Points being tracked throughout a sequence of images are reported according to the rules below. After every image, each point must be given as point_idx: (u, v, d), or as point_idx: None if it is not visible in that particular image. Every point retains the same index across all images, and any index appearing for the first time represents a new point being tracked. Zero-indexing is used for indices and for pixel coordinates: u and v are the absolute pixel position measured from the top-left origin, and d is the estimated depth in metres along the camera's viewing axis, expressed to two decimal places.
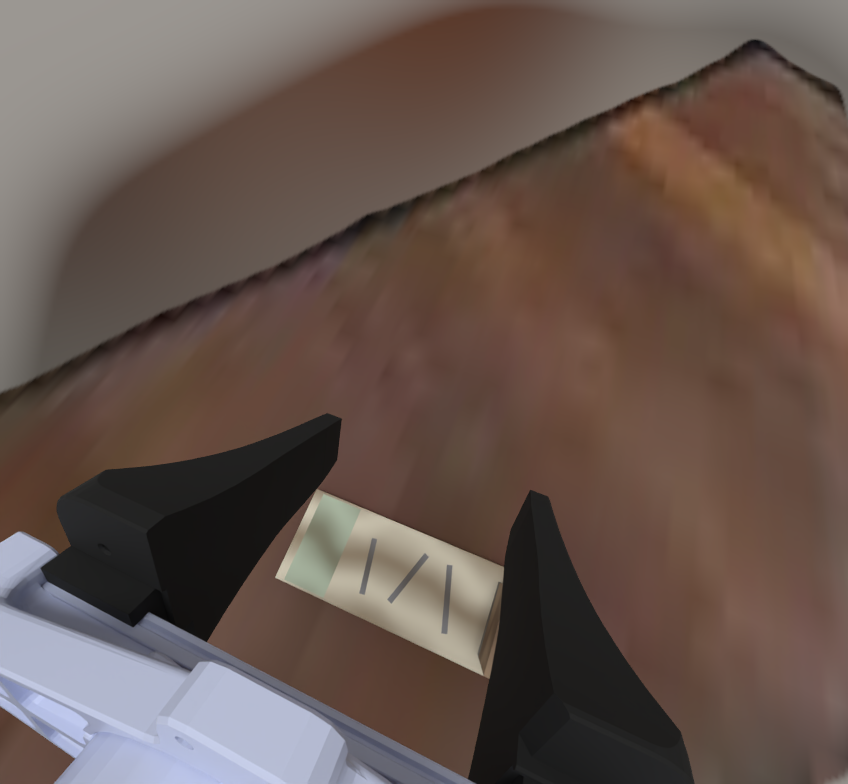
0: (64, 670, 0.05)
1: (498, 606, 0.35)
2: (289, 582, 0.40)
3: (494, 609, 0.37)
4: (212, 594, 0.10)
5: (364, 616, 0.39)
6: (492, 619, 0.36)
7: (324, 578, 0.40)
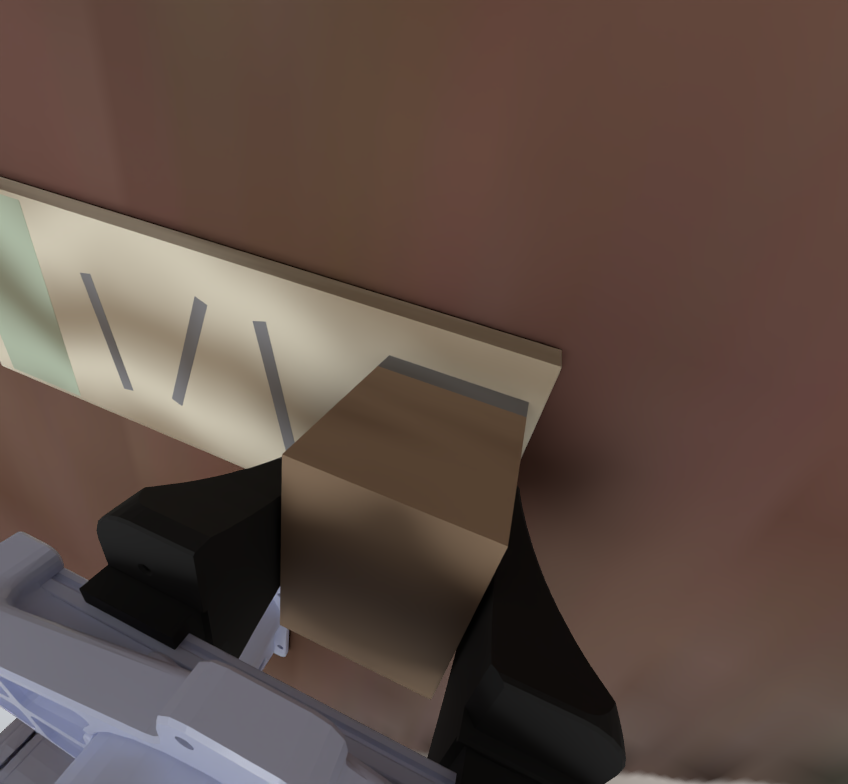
0: (64, 670, 0.05)
1: None
2: (23, 372, 0.21)
3: None
4: (246, 611, 0.09)
5: (153, 425, 0.19)
6: None
7: (63, 364, 0.19)
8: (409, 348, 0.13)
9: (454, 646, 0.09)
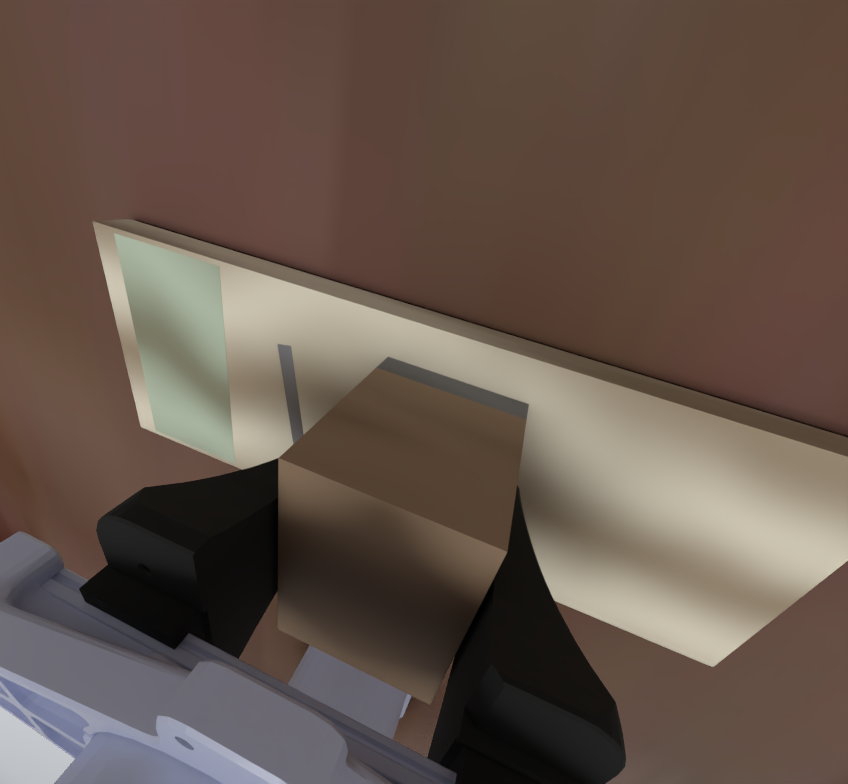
0: (64, 670, 0.05)
1: None
2: (167, 435, 0.19)
3: None
4: (246, 611, 0.09)
5: None
6: None
7: (221, 431, 0.18)
8: (718, 451, 0.11)
9: (453, 651, 0.09)
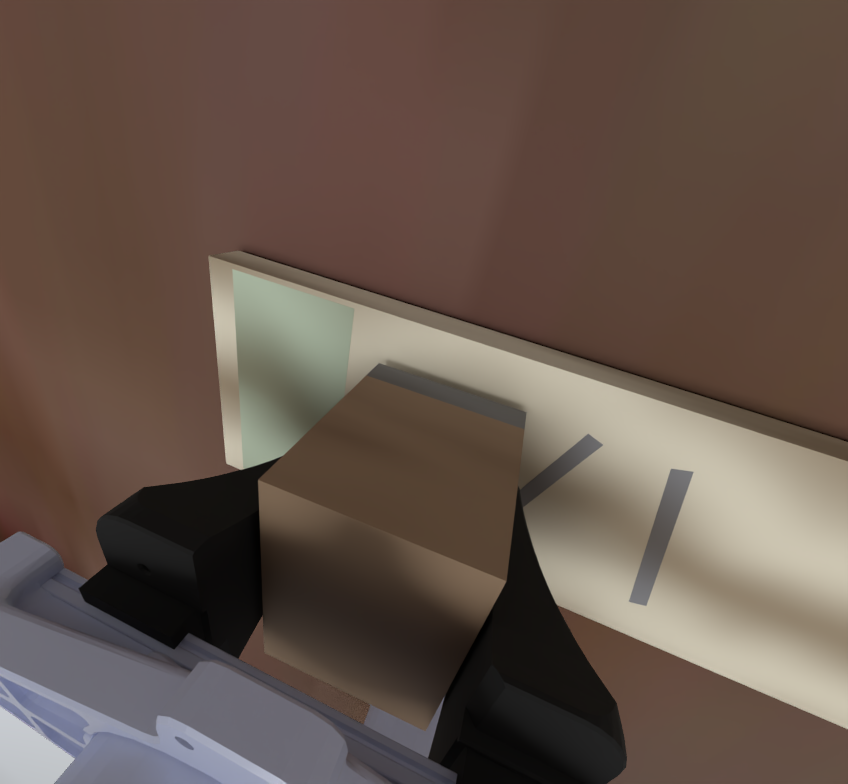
0: (64, 670, 0.05)
1: None
2: None
3: None
4: (246, 611, 0.09)
5: None
6: None
7: None
8: None
9: (449, 680, 0.09)
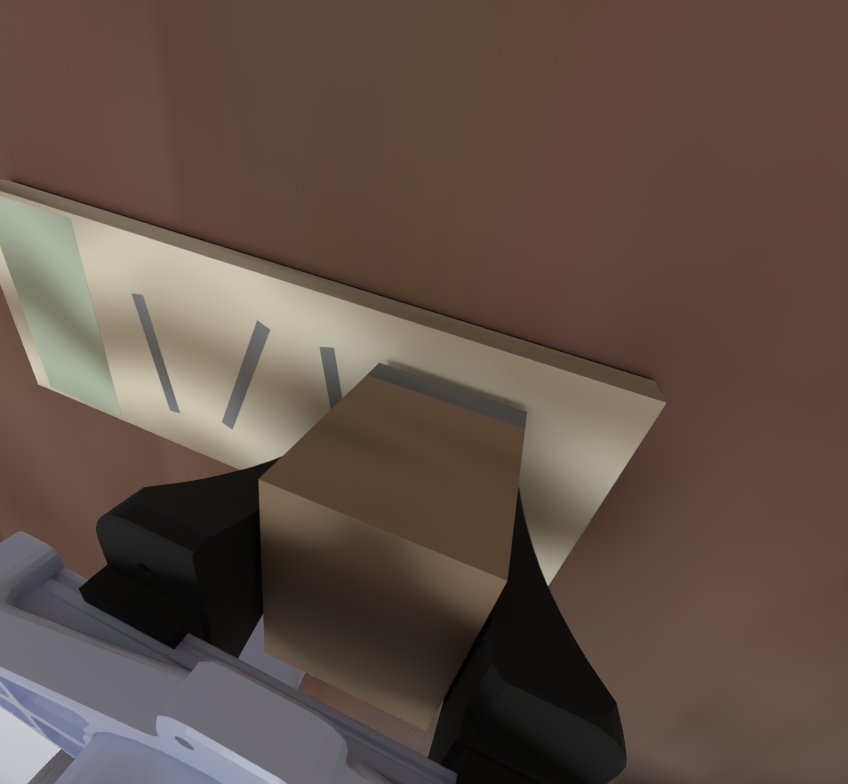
0: (64, 670, 0.05)
1: None
2: (61, 391, 0.20)
3: None
4: (245, 611, 0.09)
5: (198, 448, 0.19)
6: None
7: (105, 384, 0.19)
8: (494, 379, 0.12)
9: (450, 679, 0.09)
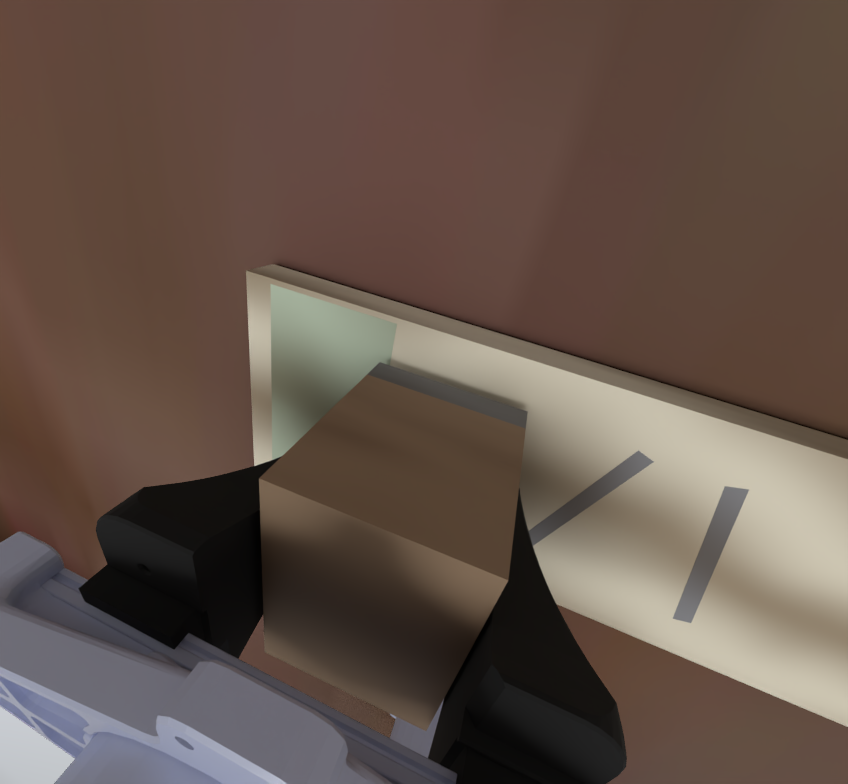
0: (64, 670, 0.05)
1: None
2: None
3: None
4: (246, 611, 0.09)
5: None
6: None
7: None
8: None
9: (450, 679, 0.09)
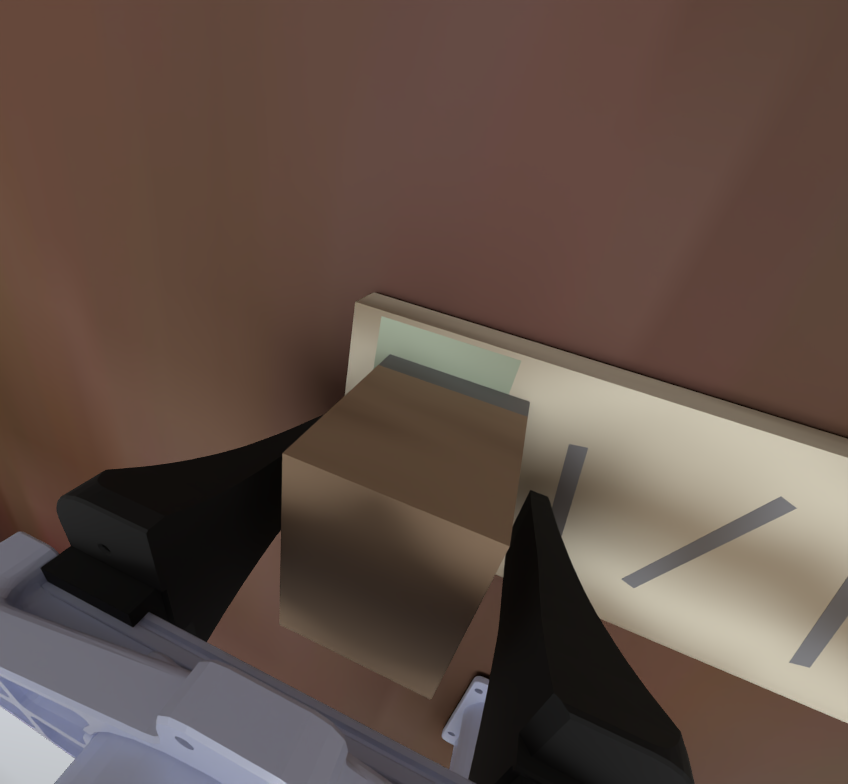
0: (64, 670, 0.05)
1: None
2: None
3: None
4: (212, 594, 0.10)
5: None
6: None
7: None
8: None
9: (455, 646, 0.09)
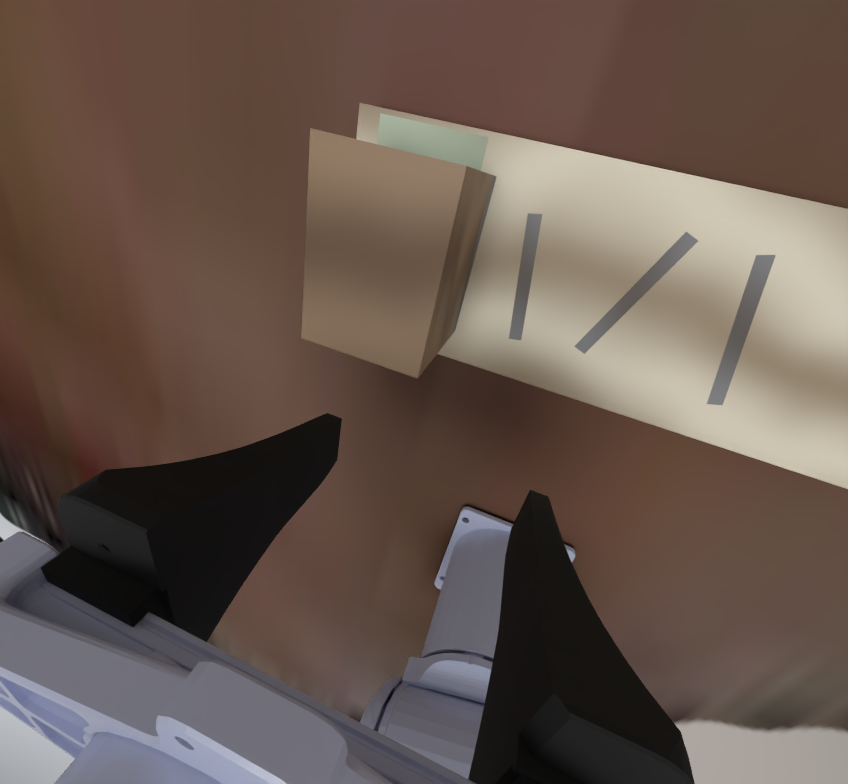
0: (64, 670, 0.05)
1: None
2: None
3: None
4: (212, 594, 0.10)
5: (524, 377, 0.19)
6: None
7: None
8: None
9: (433, 299, 0.13)
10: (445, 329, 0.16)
